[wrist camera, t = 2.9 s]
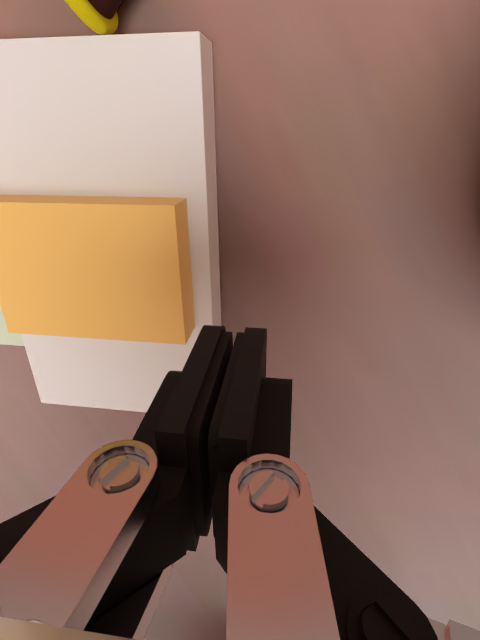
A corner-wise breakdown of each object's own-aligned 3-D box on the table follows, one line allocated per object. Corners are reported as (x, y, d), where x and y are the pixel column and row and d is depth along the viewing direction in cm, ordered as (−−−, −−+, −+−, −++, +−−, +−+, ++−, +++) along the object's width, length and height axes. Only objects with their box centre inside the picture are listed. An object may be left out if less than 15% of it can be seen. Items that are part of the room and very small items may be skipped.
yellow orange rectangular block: (195, 326, 22) (185, 344, 20) (31, 316, 23) (8, 332, 21) (186, 197, 19) (174, 205, 17) (-3, 194, 20) (-33, 201, 18)
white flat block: (223, 394, 27) (216, 418, 25) (61, 381, 28) (41, 402, 26) (212, 42, 18) (199, 31, 16) (-24, 51, 19) (-66, 42, 17)
